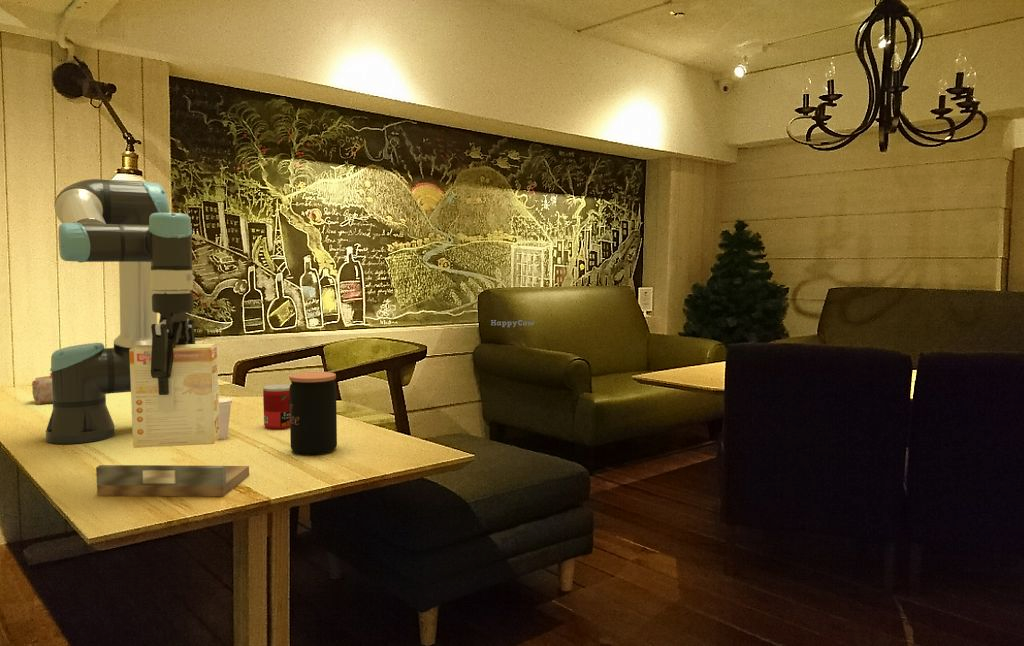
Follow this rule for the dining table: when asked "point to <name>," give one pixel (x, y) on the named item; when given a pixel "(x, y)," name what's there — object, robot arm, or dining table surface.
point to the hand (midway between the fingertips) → (176, 406)
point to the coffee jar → (313, 413)
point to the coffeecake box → (176, 398)
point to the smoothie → (224, 416)
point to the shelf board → (168, 480)
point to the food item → (42, 390)
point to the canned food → (276, 406)
